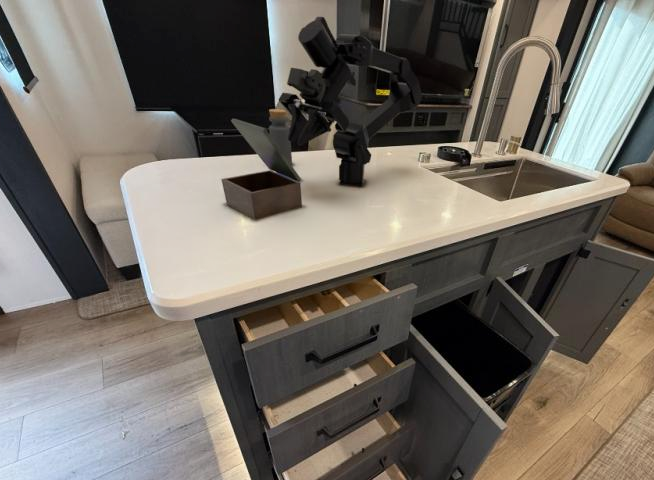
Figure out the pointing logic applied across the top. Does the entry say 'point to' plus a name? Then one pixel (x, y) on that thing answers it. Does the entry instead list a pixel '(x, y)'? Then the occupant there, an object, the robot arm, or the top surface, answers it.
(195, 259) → the top surface
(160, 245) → the top surface
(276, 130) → the bottle
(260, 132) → the lid
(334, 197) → the top surface
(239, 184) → the box
